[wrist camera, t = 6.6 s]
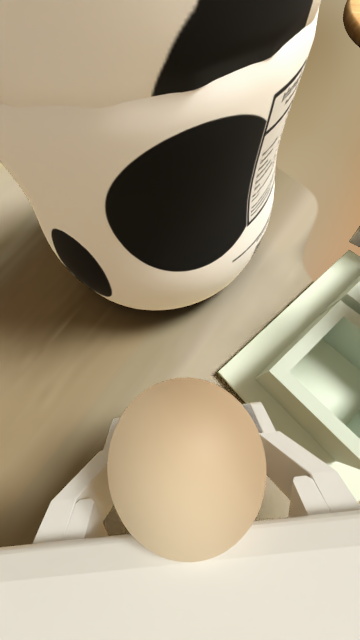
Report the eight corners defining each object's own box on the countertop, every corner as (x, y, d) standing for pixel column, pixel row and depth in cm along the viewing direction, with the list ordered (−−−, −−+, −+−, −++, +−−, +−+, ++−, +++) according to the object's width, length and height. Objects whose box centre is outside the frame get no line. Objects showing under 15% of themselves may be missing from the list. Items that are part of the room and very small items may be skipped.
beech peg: (189, 468, 15) (176, 613, 4) (156, 423, 17) (77, 448, 5) (228, 429, 16) (301, 469, 5) (193, 389, 17) (191, 349, 6)
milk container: (70, 201, 26) (-164, -197, 9) (220, 165, 26) (265, -268, 10) (87, 347, 19) (-670, -100, 2) (285, 294, 20) (775, -340, 3)
